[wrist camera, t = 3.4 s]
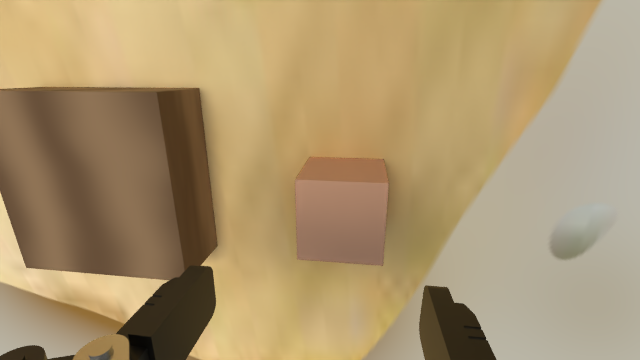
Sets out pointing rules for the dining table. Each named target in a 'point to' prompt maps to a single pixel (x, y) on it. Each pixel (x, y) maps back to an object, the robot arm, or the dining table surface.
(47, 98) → the walnut base block
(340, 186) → the terracotta cube
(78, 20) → the dining table surface
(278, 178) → the dining table surface
